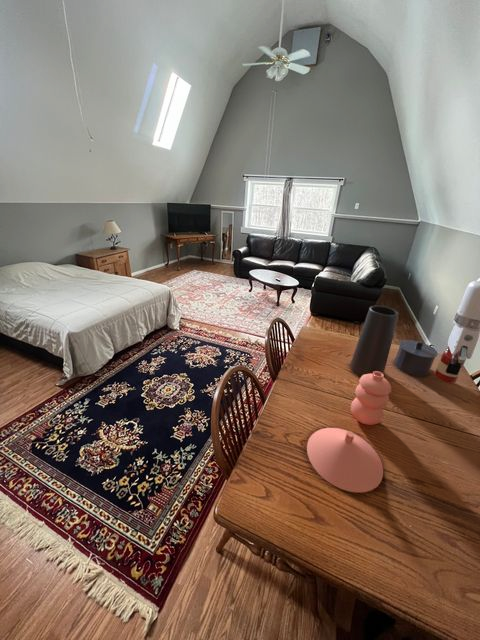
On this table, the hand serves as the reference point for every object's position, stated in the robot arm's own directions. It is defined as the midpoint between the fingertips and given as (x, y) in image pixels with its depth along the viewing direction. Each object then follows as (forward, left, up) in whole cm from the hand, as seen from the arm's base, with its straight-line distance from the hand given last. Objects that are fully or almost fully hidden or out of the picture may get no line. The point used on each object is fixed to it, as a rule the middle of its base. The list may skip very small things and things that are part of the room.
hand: (449, 367), depth 92 cm
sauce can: (0, 0, -4) cm, 4 cm away
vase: (+20, -18, -18) cm, 32 cm away
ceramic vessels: (+32, +24, -18) cm, 44 cm away
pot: (-1, -27, -18) cm, 32 cm away
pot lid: (-1, -27, -8) cm, 28 cm away
